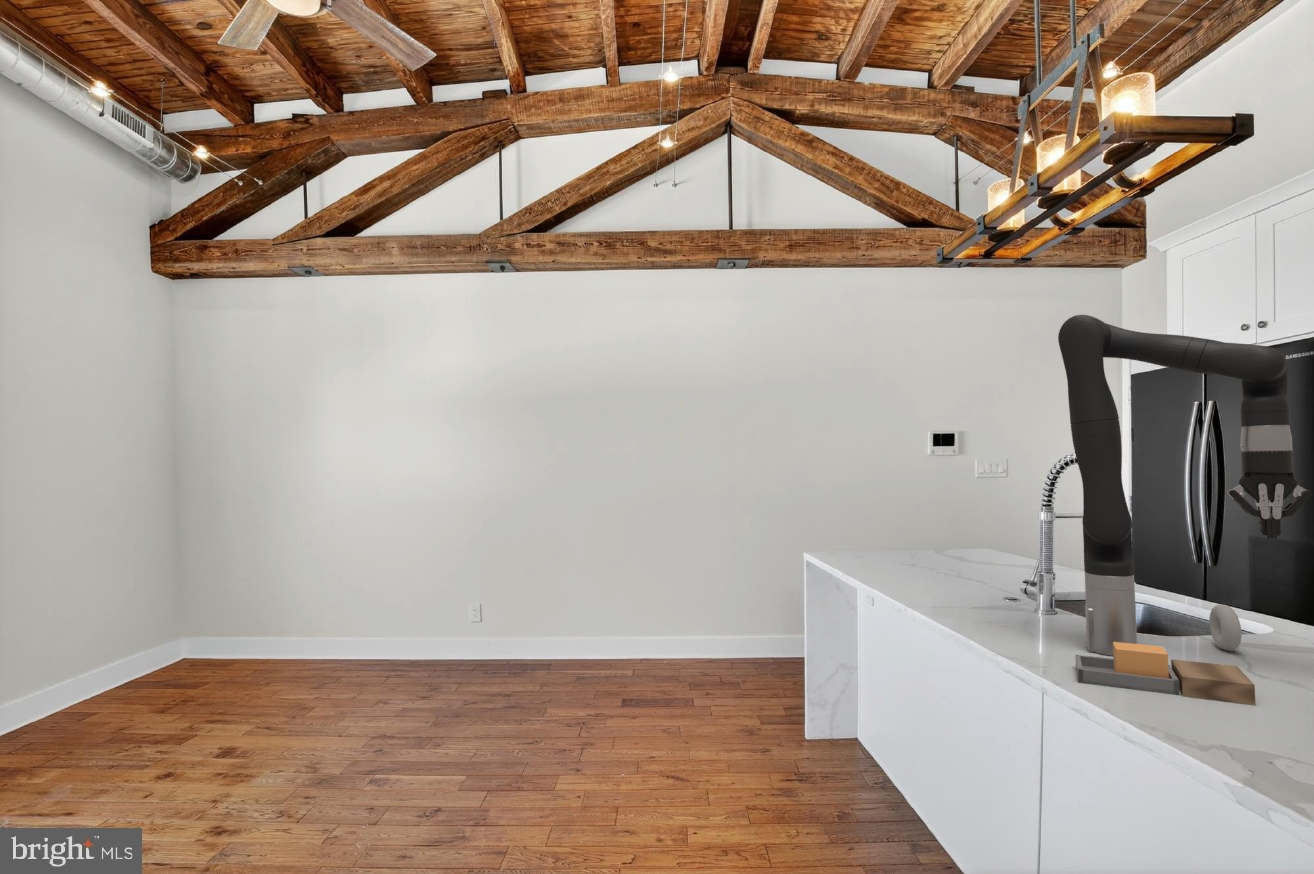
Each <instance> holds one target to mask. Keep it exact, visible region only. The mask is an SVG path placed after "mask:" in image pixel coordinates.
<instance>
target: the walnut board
mask: <svg viewBox="0 0 1314 874" xmlns="http://www.w3.org/2000/svg"><path fill="white" fill-rule="evenodd" d="M1170 667H1171V669H1172V670H1173V672H1174V673H1175V675H1176V677H1177V678H1178V680H1179V687H1180V695H1182V697H1185V696H1186V698H1193V699H1201V700H1202V699H1203V700H1210V701H1217V702H1218V701H1219V702H1228V703H1235V704H1243V705H1248V706H1249V705H1251V706H1256V686H1255V685H1256V684H1254V683H1253V682H1252V680H1250V678H1249V677H1248V676H1247V675H1246V674H1245V673H1244V672H1243V670H1241V669H1240V667H1238V665H1231V664H1223V663H1220V664H1219V663H1211V662H1210V663H1209V662H1200V661H1192V660H1182V659H1181V660H1180V659H1173V658H1172V659H1170Z"/></svg>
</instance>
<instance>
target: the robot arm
mask: <svg viewBox="0 0 1314 874" xmlns="http://www.w3.org/2000/svg"><path fill="white" fill-rule="evenodd" d="M1057 335H1058V336H1057V339H1058V341H1057V342H1058V345H1059V349H1060V353H1061V357H1062V362H1063V365H1064V370H1065V374H1066V378H1067V379H1066V380H1067V394H1068V395H1067V396H1068V410H1069V421H1070V422H1069V423H1070V431H1071V437H1072V444H1073V449H1074V454H1075V458H1076V463H1077V465H1078V469H1079V473H1080V477H1081V482H1082V490H1083V491H1082V494H1083V499H1082V500H1083V509H1082V510H1083V511H1082V514H1083V515H1082V536H1083V564H1084V567H1083V568H1084V589H1085V590H1084V591H1085V604H1084V606H1085V607H1084V610H1085V612H1084V613H1085V633H1086V634H1085V635H1086V647H1087V652H1091V653H1092V652H1093V653H1098V654H1101V655H1106V656H1113V642H1121V643H1131V644H1138V640H1137V638H1138V637H1137V615H1136V613H1137V612H1136V592H1135V591H1136V589H1135V588H1136V587H1135V585H1136V584H1135V563H1134V553H1133V552H1134V551H1133V532H1132V529H1133V520H1132V519H1133V518H1132V517H1131V514H1130V510H1129V508H1128V503H1127V500H1126V495H1125V491H1124V486H1123V485H1124V484H1123V480H1122V469H1123V468H1122V466H1123V465H1122V463H1123V461H1122V458H1123V455H1122V454H1123V451H1122V450H1123V447H1122V431H1121V425H1120V417H1119V412H1118V408H1117V405H1116V402H1115V399H1114V396H1113V393H1112V391H1111V389H1110V387H1109V384H1108V380H1107V376H1106V373H1105V367H1104V358H1109V359H1113V358H1114V359H1124V360H1131V361H1137V362H1142V363H1147V364H1151V365H1156V366H1159V367H1165V368H1171V369H1174V370H1180V371H1184V372H1185V371H1186V372H1191V373H1197V374H1204V375H1219V376H1222V377H1223V376H1224V377H1229V378H1234V379H1239V380H1241V386H1242V387H1241V388H1242V401H1241V405H1240V420H1241V421H1240V423H1241V424H1240V425H1241V429H1240V431H1241V432H1240V444H1239V449H1240V457H1241V459H1240V460H1241V461H1240V462H1241V478H1240V479H1239V480H1238V485H1236V486H1235V487H1232V489H1231V488H1230V489H1227V490H1226V494H1227V496H1229V498H1231V500H1232V501H1234V502H1235V503H1236V504H1237V505H1238V506H1239V507H1240V508H1241V509H1242V510H1243V511H1244V512H1245V513H1246V514H1248V515H1250V516H1253V517H1256V518H1258V524H1259V525H1258V526H1259V528H1258V529H1259V533H1260V535H1261V536H1263V537H1264V538H1265V539H1269V540H1270V539H1273V540H1274V539H1276V540H1277V537H1278V536H1280V535H1281V533H1282V530H1281V520H1282V519H1283V518H1286V517H1292V516H1293V515H1295V513H1296V512H1297V511H1298V510H1300V509H1301V507H1302V506H1304V504H1306V502H1307V501H1308V500H1310V498H1311V497H1313V495H1314V493H1313V491H1311V490H1309V489H1305V488H1304V487H1302V486H1300V485H1299V481H1298V480H1297V479H1296V477H1295V471H1294V450H1293V435H1292V432H1291V428H1290V427H1291V425H1290V409H1289V408H1290V407H1289V404H1288V399H1287V394H1288V392H1287V391H1288V361H1287V359H1286V357H1285V356H1284V354H1283V353H1282V352H1281V351H1279V350H1278V349H1276V348H1274V347H1271V346H1266V345H1260V344H1259V345H1258V344H1250V343H1249V344H1248V343H1237V342H1225V341H1219V340H1215V339H1210V338H1203V337H1196V336H1188V335H1182V334H1181V335H1180V334H1167V333H1153V332H1152V333H1150V332H1143V331H1142V332H1141V331H1136V330H1130V329H1126V328H1122V327H1119V326H1115V325H1113V324H1109V323H1107V322H1104V321H1103V320H1101V319H1099V318H1097V317H1095V316H1092V315H1088V314H1076V315H1073V316H1071V317H1069V318H1068V319H1066V320H1065V321H1064V322H1063V324H1062V325H1061V327H1060V329H1059V331H1058V334H1057ZM1244 492H1245V493H1247V494H1248V496H1249V497H1250V498H1251V499H1253V500H1255V506H1256V508H1254V506H1252V505H1251V504H1250V503H1249V502H1248V501H1247V500H1246V499H1245V498H1244V496H1245V493H1244ZM1291 493H1292V495H1293V497H1294V498H1293V499H1292V500H1290V501H1289V502H1288V503H1287V505H1285V506H1284V508H1283V504H1284V500H1286V499H1287V498H1288V496H1290V494H1291Z"/></svg>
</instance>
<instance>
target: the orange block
mask: <svg viewBox="0 0 1314 874" xmlns="http://www.w3.org/2000/svg"><path fill="white" fill-rule="evenodd" d="M1113 659H1114V672H1115V673H1124V674H1132V675H1141V676H1150V677H1158V678H1167V679H1169V668H1168V665H1169V654H1168V653H1167V650H1166V649H1165V647H1163V646H1161V645H1150V644H1142V643H1141V644H1140V643H1137V644H1131V643H1121V642H1113Z"/></svg>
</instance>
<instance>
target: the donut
mask: <svg viewBox="0 0 1314 874" xmlns="http://www.w3.org/2000/svg"><path fill="white" fill-rule="evenodd" d="M1209 629H1210V633H1211V637H1212V639H1213V641H1214V642H1215V645H1217V646H1218V647H1219V648H1220V649H1221V650H1223V649H1224V651H1227V652H1228V651H1229V652H1233V651H1235V650H1236V649H1238V648H1239V647H1240V645H1241V642H1242V627H1241V622H1240V619H1239V616H1238V614H1237V613H1236V612H1235V610H1234V609H1233V608H1232V607H1231V606H1230V605H1227V604H1222V603H1220V604H1216V605H1214V606H1213V607H1212V608H1211V610H1210V614H1209Z"/></svg>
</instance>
